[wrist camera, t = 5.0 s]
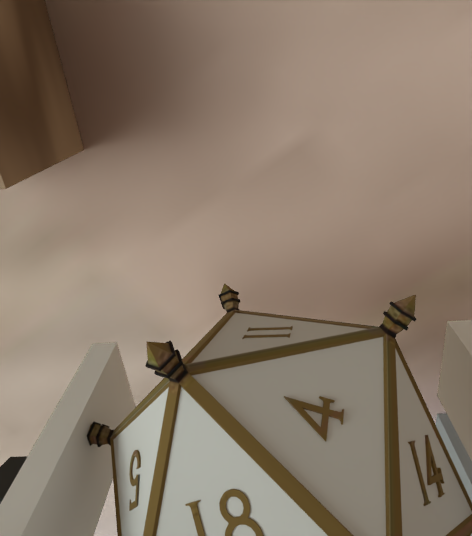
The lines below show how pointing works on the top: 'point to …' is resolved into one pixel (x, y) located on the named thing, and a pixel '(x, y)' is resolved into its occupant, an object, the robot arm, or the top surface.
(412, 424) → the game die
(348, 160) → the top surface
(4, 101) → the walnut cube
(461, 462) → the slate grey cube
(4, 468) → the robot arm
